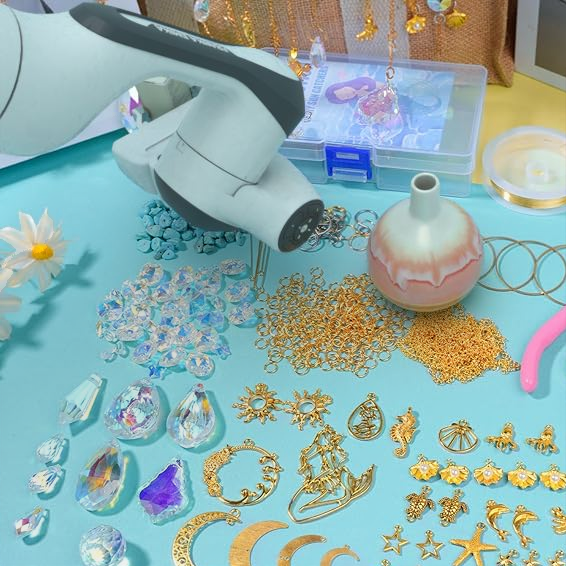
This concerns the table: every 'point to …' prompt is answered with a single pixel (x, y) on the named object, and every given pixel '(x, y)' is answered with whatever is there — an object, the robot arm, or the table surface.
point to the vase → (425, 250)
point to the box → (162, 95)
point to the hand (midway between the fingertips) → (163, 97)
